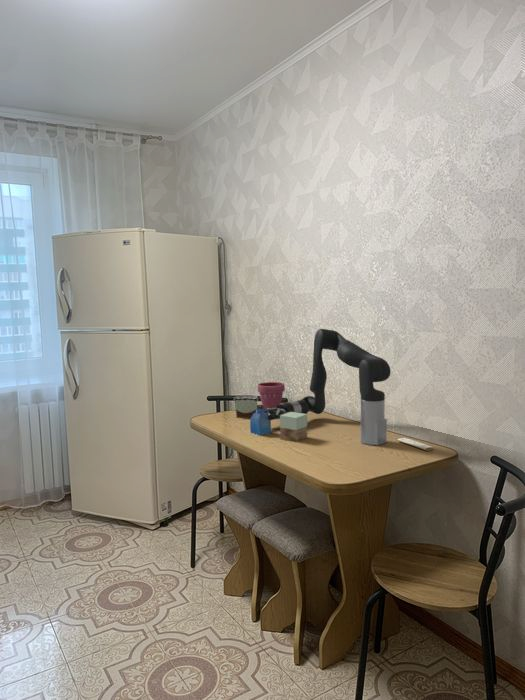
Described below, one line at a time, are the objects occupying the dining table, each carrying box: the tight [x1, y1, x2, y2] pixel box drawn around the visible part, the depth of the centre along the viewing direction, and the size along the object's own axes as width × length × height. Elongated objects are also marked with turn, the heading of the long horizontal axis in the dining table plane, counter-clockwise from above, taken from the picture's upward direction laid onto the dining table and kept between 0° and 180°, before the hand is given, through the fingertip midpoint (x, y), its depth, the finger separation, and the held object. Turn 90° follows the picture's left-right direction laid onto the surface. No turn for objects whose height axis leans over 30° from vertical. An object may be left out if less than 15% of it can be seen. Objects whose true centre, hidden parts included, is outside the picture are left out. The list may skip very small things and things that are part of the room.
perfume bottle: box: [249, 404, 272, 436], centre depth 220 cm, size 6×6×12 cm
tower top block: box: [279, 412, 308, 430], centre depth 211 cm, size 8×8×5 cm
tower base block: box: [279, 425, 308, 443], centre depth 211 cm, size 8×8×5 cm
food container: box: [233, 394, 260, 418], centre depth 252 cm, size 12×6×10 cm, turn 84°
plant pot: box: [257, 381, 286, 409], centre depth 269 cm, size 14×14×13 cm
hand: (262, 416), depth 221 cm, fingers open, 8 cm apart
